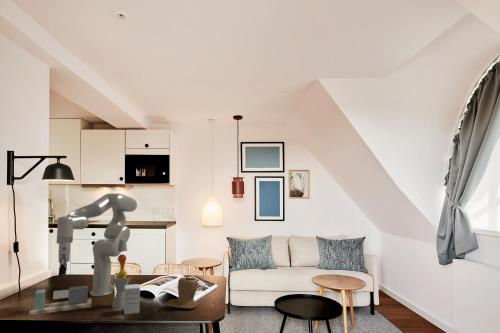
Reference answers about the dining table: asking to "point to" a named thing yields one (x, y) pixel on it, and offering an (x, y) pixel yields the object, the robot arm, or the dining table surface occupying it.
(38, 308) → the socket block
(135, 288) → the supplement box
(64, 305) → the base board
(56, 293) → the tube
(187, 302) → the brown boot
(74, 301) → the sleeve
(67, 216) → the robot arm
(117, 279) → the lava lamp
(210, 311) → the dining table surface
